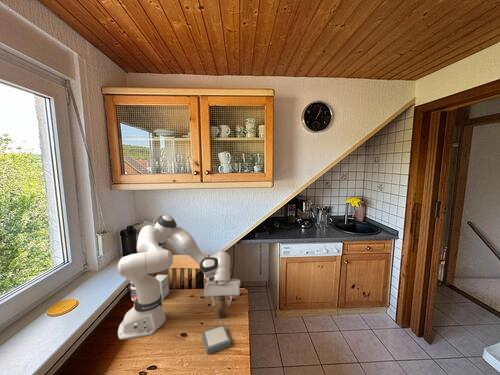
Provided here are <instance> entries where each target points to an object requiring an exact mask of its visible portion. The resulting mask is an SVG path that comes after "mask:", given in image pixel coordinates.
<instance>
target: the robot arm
mask: <svg viewBox="0 0 500 375" xmlns="http://www.w3.org/2000/svg"><path fill="white" fill-rule="evenodd" d="M168 239H170V240H171V241H172V243H173V244H174V245H175V246H176V247H177V248H178V249H179V250H180V251H181V252H182V253H185V255H187V256H189V257H190V258H191V259H193V260H194V261H195V262H196V263H197V265H199V270H200V271H201V272H202V273H203V274H204V276H205V277H206V283H205V285H204V290H203V297H204V298H206V299H207V298H208V299H209V298H210V299H211V301H212V307H216V306H217V302H216V301H215V298H218V297H219V296H225V298H229V301H227V306H228V307H229V306H231V302H232V300H233V297H240V296H241V290H240V287H241V280H240V279H239V278H231V272H230V269H231V256H230V254H229V253H228V252H226V251H224V250H219V251H217V252H216V253H215V254H212V255H209V256H205V254H204V253H203V252H202V251H201V249H200V248H199V246H198V244H197V242H196V240H195V238H193V236H192V235H191V234H190V233H189V231H188V230H187V231H186V229H184V228H183V227H181V226H178V224H177V222H176V220H175V219H174V218H173V216H172V215H169V214H162V215H160V216H158V218H157V220H156V222H155V224H154V226H153V225H152V224H151V225H150V224H149V225H144V226H143V227H141V229H140V231H139V233H138V236H137V241H136V242H137V243H136V251H137V253H131V254H128V255H125V256H123V257H121V258H120V259H119V261H118V263H117V269H116V270H117V273H118V274H119V275H120V277H122V278H125V279H127V280H129V282H130V281H131V282H132V283H133V284H134V286H135V288H136V292H137V297H134V299H133V307H131V309H129V310H128V311H127V312H126V313H125V315H124V316H123V320H122V321H121V322H120V324H119V326H118V329H117V336H118V339H119V340H127V339H133V338H139V337H145V336H151V335H153V334H154V333H155V332H156V330H158V329H159V328H161V326H163V325H164V323H165V322H166V321H167V320H166V319H167V317H166V315H165V312H164V308H163V300H162V295H161V293H160V282H159V280H158V279H156V278H155V277H156V276H151V275H149V274H156V273H160V272H163V271H166V270H168V269H170V268H171V267H172V265H173V263H174V256H173V253H172V252H171V251H170V250H169V249H165V248H163V246H165V245H166V242H167V241H168Z"/></svg>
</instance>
